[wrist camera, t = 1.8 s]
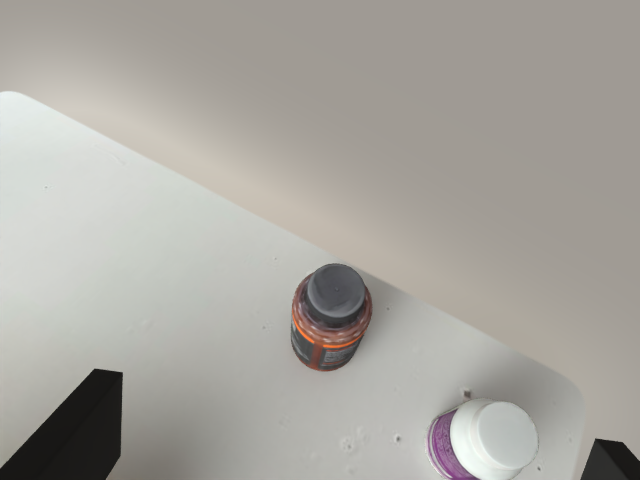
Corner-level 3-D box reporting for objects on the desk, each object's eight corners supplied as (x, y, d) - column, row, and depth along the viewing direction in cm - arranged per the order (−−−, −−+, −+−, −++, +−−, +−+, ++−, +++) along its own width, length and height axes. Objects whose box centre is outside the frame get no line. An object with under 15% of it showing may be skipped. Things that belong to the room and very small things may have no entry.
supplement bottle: (370, 340, 40) (399, 291, 30) (323, 388, 38) (338, 352, 28) (323, 295, 42) (336, 235, 32) (276, 337, 40) (274, 287, 30)
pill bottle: (455, 500, 35) (512, 503, 26) (409, 439, 36) (448, 425, 28) (501, 453, 36) (568, 443, 28) (455, 398, 38) (504, 373, 30)
